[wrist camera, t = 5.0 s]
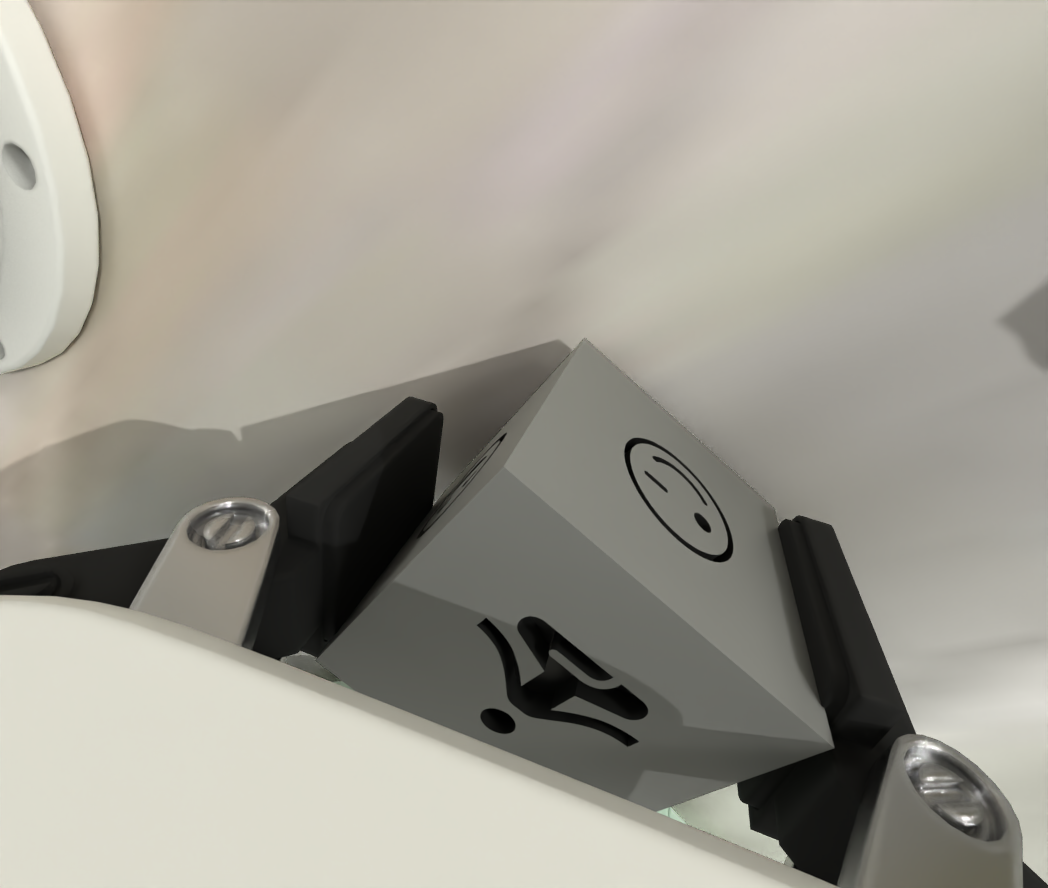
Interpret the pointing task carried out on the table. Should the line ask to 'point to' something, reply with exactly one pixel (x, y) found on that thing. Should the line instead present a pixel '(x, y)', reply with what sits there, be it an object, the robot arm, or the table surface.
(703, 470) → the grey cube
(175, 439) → the table surface
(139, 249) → the table surface
